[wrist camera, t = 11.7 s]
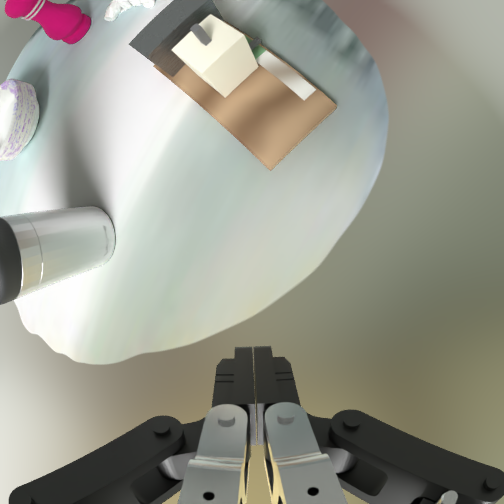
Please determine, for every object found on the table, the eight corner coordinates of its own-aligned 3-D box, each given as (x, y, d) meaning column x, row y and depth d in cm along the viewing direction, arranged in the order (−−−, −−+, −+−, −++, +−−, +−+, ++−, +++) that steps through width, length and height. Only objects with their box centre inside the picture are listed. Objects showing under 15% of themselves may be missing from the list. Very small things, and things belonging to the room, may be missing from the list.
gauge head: (275, 52, 29) (259, 1, 18) (225, 97, 31) (190, 61, 21) (246, 32, 29) (222, -18, 18) (198, 76, 31) (157, 38, 21)
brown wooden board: (336, 108, 31) (337, 105, 29) (270, 170, 33) (269, 169, 32) (212, 16, 31) (209, 11, 29) (157, 69, 33) (152, 65, 32)
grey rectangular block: (227, 26, 30) (210, -2, 23) (172, 77, 32) (146, 57, 25) (207, 14, 30) (189, -13, 23) (155, 63, 32) (128, 44, 25)
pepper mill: (98, 22, 33) (23, -22, 14) (71, 52, 35) (-9, 19, 16) (86, 10, 33) (17, -29, 14) (61, 38, 35) (-12, 7, 16)
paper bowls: (1, 148, 42) (-26, 147, 34) (25, 81, 38) (-2, 74, 31) (31, 172, 41) (-2, 172, 33) (60, 92, 37) (28, 83, 29)
